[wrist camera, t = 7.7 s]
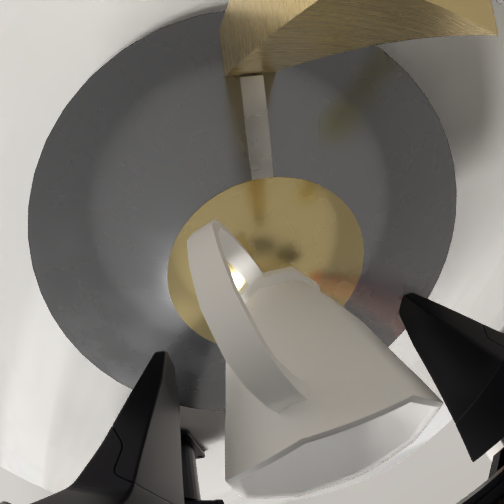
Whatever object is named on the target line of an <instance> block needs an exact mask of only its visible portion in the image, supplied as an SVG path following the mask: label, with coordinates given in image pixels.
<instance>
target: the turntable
mask: <svg viewBox="0 0 504 504" xmlns="http://www.w3.org/2000/svg"><path fill="white" fill-rule="evenodd" d="M458 35H497V36H498V33H497V27H496V22H495V17H494V12H493V8H492V4H491V0H230V1H229V3H228V6H227V9H226V11H222V12H216V13H210V14H204V15H199V16H196V17H193V18H190V19H187V20H184V21H181V22H178V23H175V24H172V25H169V26H167V27H164V28H161V29H159V30H157V31H155V32H153V33H151V34H150V35H148V36H146V37H144V38H142V39H141V40H139V41H137V42H135V43H134V44H132V45H130V46H128V47H127V48H125V49H124V50H122V51H121V52H120V53H118V54H117V55H116V56H115V57H113V58H112V59H111V60H110V61H108V62H107V63H106V64H105V65H104V66H102V67H101V68H100V69H99V70H98V71H97V72H95V73H94V74H93V75H92V76H91V77H90V78H89V79H88V80H87V81H86V83H85V84H84V85H83V86H82V87H81V88H80V90H79V91H78V92H77V93H76V94H75V96H74V97H73V98H72V99H71V101H70V102H69V103H68V104H67V106H66V107H65V108H64V110H63V112H62V113H61V115H60V117H59V118H58V120H57V122H56V124H55V125H54V127H53V129H52V131H51V132H50V134H49V136H48V138H47V140H46V142H45V145H44V148H43V150H42V153H41V156H40V158H39V161H38V164H37V167H36V170H35V173H34V178H33V183H32V188H31V194H30V200H29V206H28V240H29V247H30V254H31V260H32V266H33V269H34V273H35V276H36V279H37V282H38V285H39V288H40V291H41V294H42V296H43V298H44V300H45V302H46V304H47V306H48V308H49V310H50V312H51V314H52V316H53V318H54V319H55V321H56V322H57V324H58V325H59V327H60V328H61V330H62V331H63V333H64V334H65V335H66V337H67V338H68V339H69V340H70V341H71V342H72V344H73V345H74V346H75V347H76V348H77V349H78V350H79V351H80V352H81V354H82V355H84V356H85V357H86V358H87V359H88V360H89V361H90V362H92V363H93V364H94V365H95V366H96V367H97V368H99V369H100V370H101V371H103V372H104V373H106V374H107V375H109V376H110V377H112V378H113V379H115V380H116V381H118V382H119V383H121V384H123V385H125V386H127V387H129V388H131V389H134V387H135V385H136V383H137V382H138V380H139V378H140V377H141V375H142V373H143V371H144V370H145V368H146V366H147V365H148V363H149V361H150V360H151V358H152V356H153V355H154V353H155V352H157V351H164V350H165V351H167V352H168V354H169V356H170V358H171V360H172V362H173V364H174V367H175V374H176V382H177V390H178V398H179V406H185V407H190V408H196V409H206V410H226V361H225V359H224V357H223V355H222V353H221V351H220V349H219V347H218V345H217V343H216V341H215V339H214V337H213V335H212V333H211V331H210V328H209V326H208V324H207V322H206V320H205V318H204V316H203V314H202V312H201V310H200V306H199V302H198V299H197V295H196V291H195V287H194V283H193V279H192V275H191V271H190V267H189V260H188V250H187V240H188V239H189V237H190V236H191V235H192V233H194V232H195V231H197V230H198V229H200V228H202V227H203V226H205V225H206V224H208V223H209V222H211V221H213V220H214V219H216V220H217V221H219V222H220V223H221V224H223V225H224V226H225V227H226V228H227V229H228V230H229V231H230V232H231V233H232V234H233V235H234V237H235V238H236V239H237V240H238V241H239V242H240V243H241V244H242V245H243V247H244V248H245V249H246V250H247V251H248V253H249V254H250V255H251V256H252V258H253V259H254V260H255V262H256V263H257V265H258V266H259V268H260V269H261V270H262V272H267V271H272V270H276V269H281V268H286V267H290V266H292V267H293V268H295V269H296V270H298V271H300V272H301V273H303V274H304V275H306V276H307V277H309V278H311V279H312V280H314V281H315V282H317V284H318V285H319V287H320V291H321V292H322V293H324V294H326V295H327V296H329V297H330V298H331V299H333V300H334V301H336V302H337V303H338V304H340V305H341V306H342V307H344V308H345V309H346V310H348V311H349V312H350V313H352V314H353V315H354V316H356V317H357V318H358V319H360V320H361V321H362V322H363V323H364V324H365V325H366V326H367V327H368V328H369V329H370V330H371V331H372V332H373V333H374V334H375V335H376V336H377V337H378V338H379V339H380V340H381V341H382V342H383V343H384V344H385V345H386V346H387V347H389V346H390V345H391V344H392V343H393V342H394V341H395V340H396V339H397V337H398V336H399V335H400V334H401V333H402V332H403V331H404V330H405V329H406V328H405V326H404V324H403V322H402V320H401V318H400V315H399V308H400V304H401V300H402V297H403V295H404V294H407V293H410V292H413V293H415V294H418V295H420V296H422V297H424V298H427V299H428V297H429V295H430V293H431V291H432V290H433V288H434V286H435V284H436V282H437V280H438V278H439V275H440V273H441V271H442V268H443V265H444V263H445V260H446V258H447V254H448V251H449V247H450V243H451V240H452V235H453V229H454V223H455V216H456V181H455V171H454V164H453V160H452V156H451V152H450V148H449V144H448V141H447V138H446V135H445V133H444V130H443V128H442V125H441V123H440V120H439V118H438V116H437V114H436V113H435V111H434V109H433V107H432V106H431V104H430V102H429V101H428V99H427V97H426V96H425V94H424V93H423V91H422V90H421V89H420V88H419V86H418V85H417V84H416V83H415V81H414V80H413V79H412V78H411V76H410V75H409V74H408V73H407V72H406V71H405V70H404V69H403V68H402V67H401V66H400V65H399V64H398V63H397V62H396V61H394V60H393V59H392V58H391V57H390V56H389V55H388V54H386V53H385V52H384V51H383V50H381V49H380V48H378V47H377V46H375V45H379V44H384V43H390V42H397V41H403V40H411V39H419V38H429V37H441V36H458ZM227 263H228V266H229V269H230V271H231V274H232V276H233V279H234V282H235V284H236V287H237V289H238V291H240V290H241V288H242V287H243V286H244V285H245V284H246V281H245V279H244V278H243V277H242V275H241V274H240V273H239V272H238V271H237V270H236V269H235V268H234V267H233V266H232V265H231V264H230V263H229V262H228V261H227Z"/></svg>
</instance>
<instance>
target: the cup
mask: <svg viewBox="0 0 504 504" xmlns="http://www.w3.org/2000/svg"><path fill="white" fill-rule="evenodd" d="M187 250H188V260H189V267H190V271H191V275H192V279H193V283H194V287H195V291H196V295H197V299H198V302H199V306H200V310H201V312H202V314H203V316H204V318H205V320H206V322H207V324H208V326H209V328H210V331H211V333H212V335H213V337H214V339H215V341H216V343H217V345H218V347H219V349H220V351H221V353H222V355H223V357H224V359H225V361H226V416H225V480H226V482H227V483H228V484H229V485H230V486H231V487H232V489H233V490H234V491H235V492H236V493H237V494H238V495H239V496H240V498H242V499H271V498H286V497H296V496H302V495H305V494H309V493H312V492H315V491H319V490H322V489H325V488H328V487H331V486H334V485H337V484H340V483H342V482H345V481H348V480H350V479H353V478H355V477H358V476H360V475H362V474H364V473H366V472H368V471H369V470H371V469H373V468H375V467H376V466H378V465H380V464H381V463H383V462H384V461H386V460H388V459H389V458H391V457H392V456H394V455H395V454H397V453H398V452H400V451H401V450H403V449H404V448H406V447H407V446H408V445H410V444H411V443H413V442H414V441H415V440H416V439H417V438H418V436H419V435H420V434H421V433H422V431H423V430H424V429H425V428H426V426H427V425H428V424H429V422H430V421H431V420H432V418H433V417H434V416H435V414H436V413H437V412H438V410H439V409H440V407H441V406H442V404H443V402H442V401H441V400H440V399H439V398H438V397H437V396H436V394H435V393H434V392H433V391H432V390H431V389H430V388H429V387H428V386H427V385H426V384H425V383H424V382H423V381H422V380H421V379H420V378H419V377H418V376H417V375H416V374H415V373H414V372H413V371H412V370H411V369H410V368H409V367H407V366H406V365H405V364H404V363H403V362H402V361H401V360H400V359H399V358H398V357H397V356H396V355H395V354H394V353H393V352H392V351H391V350H390V349H389V348H388V347H387V346H386V345H385V344H384V343H383V342H382V341H381V340H380V339H379V338H378V337H377V336H376V335H375V334H374V333H373V332H372V331H371V330H370V329H369V328H368V327H367V326H366V325H365V324H364V323H363V322H362V321H361V320H360V319H358V318H357V317H356V316H354V315H353V314H352V313H350V312H349V311H348V310H346V309H345V308H344V307H342V306H341V305H340V304H338V303H337V302H336V301H334V300H333V299H331V298H330V297H329V296H327V295H326V294H324V293H322V292H321V291H320V287H319V285H318V284H317V282H315V281H314V280H312V279H311V278H309V277H307V276H306V275H304V274H303V273H301V272H300V271H298V270H296V269H295V268H293V267H292V266H290V267H286V268H281V269H276V270H272V271H267V272H262V270H261V269H260V268H259V266H258V265H257V263H256V262H255V260H254V259H253V258H252V256H251V255H250V254H249V253H248V251H247V250H246V249H245V248H244V247H243V245H242V244H241V243H240V242H239V241H238V240H237V239H236V238H235V237H234V235H233V234H232V233H231V232H230V231H229V230H228V229H227V228H226V227H225V226H224V225H223V224H221V223H220V222H219V221H217V220H216V219H214V220H213V221H211V222H209V223H208V224H206V225H205V226H203V227H202V228H200V229H198V230H197V231H195V232H194V233H192V235H191V236H190V237H189V239H188V240H187ZM227 261H228V262H229V263H230V264H231V265H232V266H233V267H234V268H235V269H236V270H237V271H238V272H239V273H240V274H241V275H242V277H243V278H244V279H245V281H246V284H245V285H244V286H243V287H242V288H241V290H240V291H238V289H237V287H236V284H235V282H234V279H233V276H232V274H231V271H230V269H229V266H228V263H227Z"/></svg>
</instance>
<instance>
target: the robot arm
mask: <svg viewBox="0 0 504 504" xmlns="http://www.w3.org/2000/svg"><path fill="white" fill-rule="evenodd" d="M399 315H400V318H401V320H402V322H403V324H404V326H405V328H406V330H407V332H408V335H409V337H410V339H411V341H412V343H413V345H414V347H415V349H416V351H417V352H418V354H419V356H420V358H421V359H422V361H423V363H424V365H425V366H426V368H427V370H428V372H429V374H430V375H431V377H432V379H433V381H434V383H435V385H436V387H437V388H438V390H439V392H440V394H441V396H442V398H443V400H444V402H445V404H446V406H447V408H448V410H449V412H450V414H451V416H452V418H453V420H454V422H455V423H456V426H457V428H458V431H459V433H460V435H461V437H462V439H463V442H464V444H465V446H466V448H467V450H468V453H469V455H470V457H471V460H472V461H473V462H474V461H476V460H477V459H478V458H479V457H481V456H482V455H483V454H484V453H486V452H487V451H488V450H490V449H491V448H492V447H493V446H494V445H496V444H497V443H498V442H499V441H501V443H502V444H503V446H504V333H501V332H499V331H496V330H494V329H492V328H490V327H488V326H486V325H483V324H481V323H479V322H477V321H475V320H473V319H471V318H468V317H466V316H464V315H462V314H460V313H458V312H455V311H453V310H451V309H449V308H447V307H444V306H442V305H440V304H438V303H435V302H433V301H431V300H429V299H427V298H424V297H422V296H420V295H418V294H415V293H413V292H410V293H407V294H404V295H403V297H402V300H401V304H400V308H399ZM204 457H205V453H204V451H203V450H202V449H201V447H200V446H199V445H198V443H197V442H196V441H195V439H194V438H193V437H192V435H191V434H190V432H189V431H187V430H180V406H179V398H178V390H177V382H176V374H175V367H174V364H173V362H172V360H171V358H170V356H169V354H168V352H167V351H165V350H164V351H157V352H155V353H154V355H153V356H152V358H151V360H150V361H149V363H148V365H147V366H146V368H145V370H144V371H143V373H142V375H141V377H140V378H139V380H138V382H137V383H136V385H135V387H134V389H133V390H132V392H131V394H130V395H129V397H128V399H127V401H126V402H125V404H124V406H123V408H122V409H121V411H120V413H119V415H118V416H117V418H116V420H115V422H114V423H113V426H112V427H111V429H110V430H109V432H108V434H107V436H106V437H105V439H104V441H103V442H102V444H101V446H100V447H99V449H98V450H97V452H96V453H95V454H94V456H93V457H92V459H91V460H90V461H89V463H88V464H87V466H86V467H85V468H84V470H83V471H82V473H81V474H80V475H79V477H78V478H77V479H76V481H75V482H74V483H73V484H72V485H70V486H69V487H68V488H66V489H64V490H62V491H60V492H58V493H55V494H53V495H51V496H48V497H46V498H44V499H41V500H39V501H36V502H34V503H32V504H224V502H223V500H201V499H200V491H199V484H198V476H197V467H196V459H198V458H204ZM0 504H11V503H8V502H5V501H3V502H1V503H0ZM457 504H504V447H503V448H502V449H501V450H499V451H498V452H497V453H496V454H495V455H494V456H493V460H492V465H491V470H490V474H489V478H488V480H487V481H486V482H484V483H483V484H482V485H481V486H479V487H478V488H477V489H476V490H475V491H473V492H472V493H470V494H469V495H468V496H466V497H465V498H464V499H462V500H461V501H460V502H458V503H457Z"/></svg>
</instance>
